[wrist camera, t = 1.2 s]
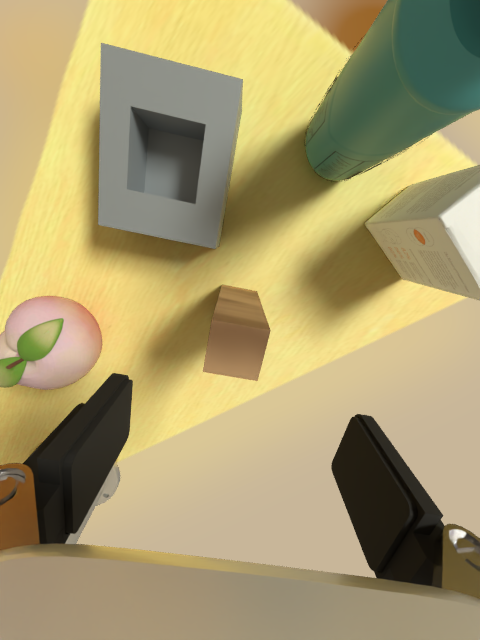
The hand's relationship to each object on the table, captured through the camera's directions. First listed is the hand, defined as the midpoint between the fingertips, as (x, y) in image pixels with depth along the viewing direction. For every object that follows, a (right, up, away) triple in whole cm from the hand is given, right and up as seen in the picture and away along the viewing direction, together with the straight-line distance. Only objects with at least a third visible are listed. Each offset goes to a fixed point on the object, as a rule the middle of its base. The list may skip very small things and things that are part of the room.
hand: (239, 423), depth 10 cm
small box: (+17, +13, +16) cm, 27 cm away
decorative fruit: (-18, +4, +19) cm, 27 cm away
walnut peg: (0, +6, +18) cm, 19 cm away
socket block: (-6, +19, +14) cm, 24 cm away
